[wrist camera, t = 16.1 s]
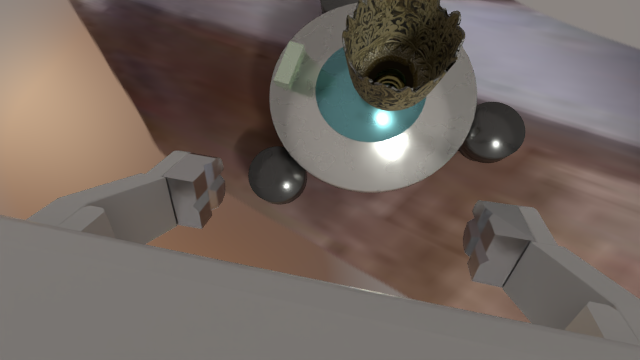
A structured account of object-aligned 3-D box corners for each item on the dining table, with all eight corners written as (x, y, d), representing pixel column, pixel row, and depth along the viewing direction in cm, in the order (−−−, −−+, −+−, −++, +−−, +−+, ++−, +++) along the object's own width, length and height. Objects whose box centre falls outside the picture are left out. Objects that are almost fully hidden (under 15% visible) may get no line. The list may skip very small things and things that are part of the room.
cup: (328, 83, 28) (319, 21, 21) (396, 38, 29) (414, -40, 21) (377, 150, 27) (389, 110, 19) (450, 101, 27) (490, 42, 19)
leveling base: (449, -25, 35) (468, -75, 29) (514, 172, 30) (550, 156, 25) (236, 24, 36) (216, -15, 31) (265, 221, 31) (247, 216, 26)
